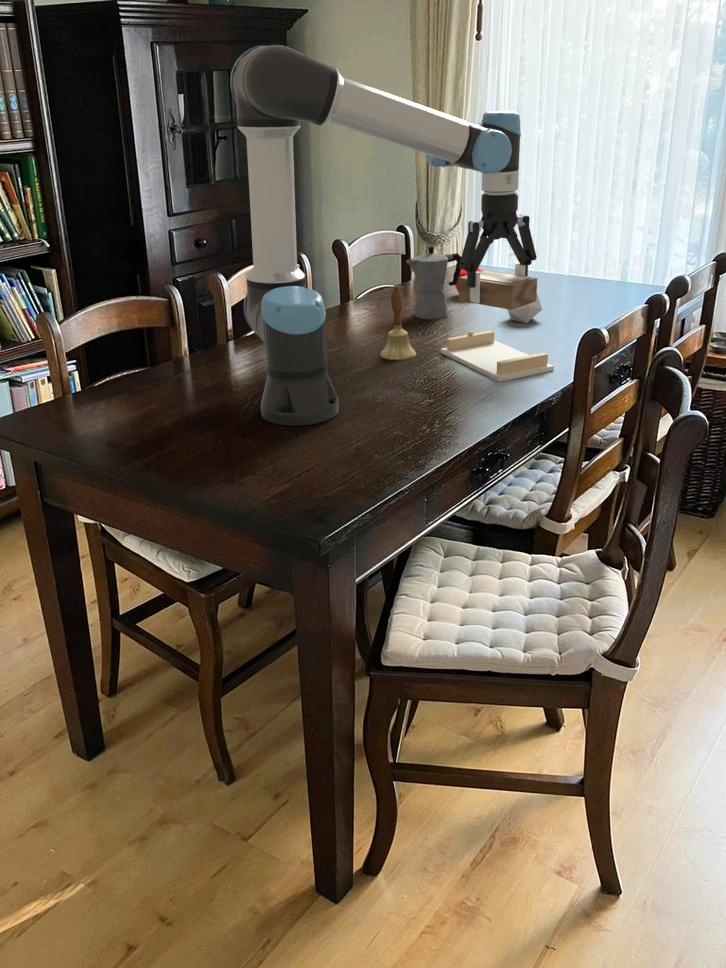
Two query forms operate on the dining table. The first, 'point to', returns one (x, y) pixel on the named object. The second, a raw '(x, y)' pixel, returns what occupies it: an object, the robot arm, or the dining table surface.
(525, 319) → the die
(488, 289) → the frame
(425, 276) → the coffeepot
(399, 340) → the hand bell
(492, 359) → the wall panel
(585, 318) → the dining table surface
